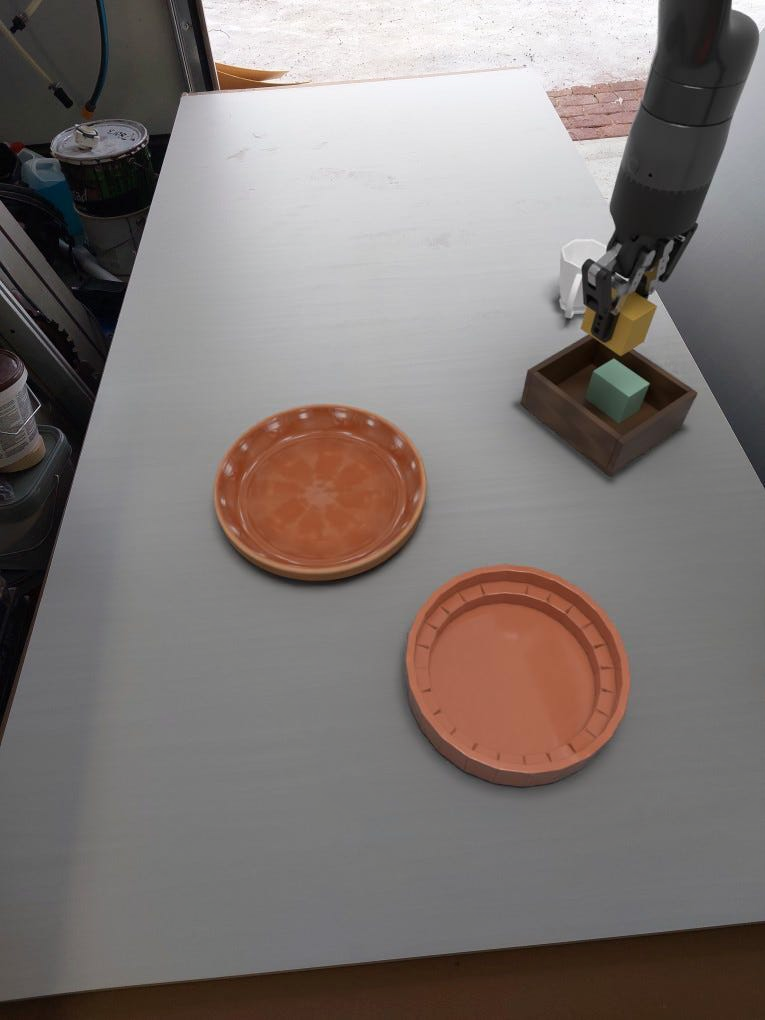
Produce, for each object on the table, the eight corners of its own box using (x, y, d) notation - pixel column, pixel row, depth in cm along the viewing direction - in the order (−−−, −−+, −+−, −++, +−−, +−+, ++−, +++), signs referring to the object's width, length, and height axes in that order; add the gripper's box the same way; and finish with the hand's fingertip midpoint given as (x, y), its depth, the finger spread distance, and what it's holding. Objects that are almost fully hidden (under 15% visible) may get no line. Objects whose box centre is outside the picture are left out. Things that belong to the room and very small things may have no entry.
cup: (604, 295, 98) (620, 244, 91) (589, 339, 92) (603, 287, 86) (556, 284, 99) (567, 233, 93) (537, 326, 94) (548, 275, 87)
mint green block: (639, 410, 83) (650, 383, 80) (618, 424, 82) (629, 396, 79) (604, 385, 86) (613, 358, 82) (584, 398, 85) (593, 370, 81)
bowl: (661, 697, 63) (677, 678, 59) (505, 837, 56) (513, 825, 53) (513, 555, 72) (519, 531, 69) (364, 661, 65) (362, 640, 62)
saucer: (467, 498, 77) (470, 477, 74) (315, 632, 67) (311, 614, 64) (328, 397, 86) (326, 375, 83) (178, 501, 77) (169, 481, 74)
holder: (681, 426, 83) (698, 392, 78) (610, 476, 78) (623, 443, 74) (590, 361, 90) (601, 326, 85) (520, 404, 85) (527, 370, 81)
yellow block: (644, 342, 71) (657, 305, 67) (620, 356, 70) (633, 320, 66) (603, 315, 74) (614, 279, 70) (580, 328, 72) (590, 292, 69)
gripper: (647, 212, 53) (594, 378, 67) (758, 154, 58) (687, 320, 72) (575, 172, 56) (539, 338, 70) (686, 120, 61) (631, 285, 75)
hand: (614, 328), depth 71 cm, fingers closed on yellow block, 3 cm apart
